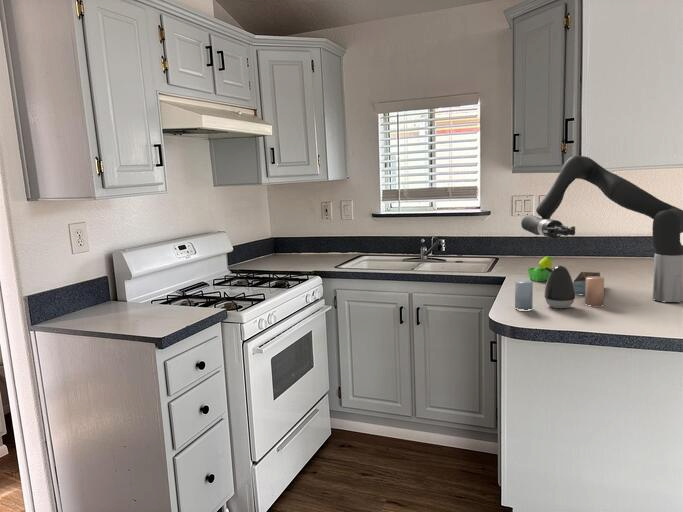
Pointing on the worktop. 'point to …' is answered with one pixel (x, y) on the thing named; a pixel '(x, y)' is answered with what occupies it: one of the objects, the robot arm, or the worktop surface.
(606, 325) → the worktop surface
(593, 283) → the terracotta canister
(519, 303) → the slate-blue canister
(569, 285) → the pump dispenser
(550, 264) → the fruit basket
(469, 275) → the worktop surface
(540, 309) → the worktop surface
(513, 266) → the worktop surface
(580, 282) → the beverage carton
